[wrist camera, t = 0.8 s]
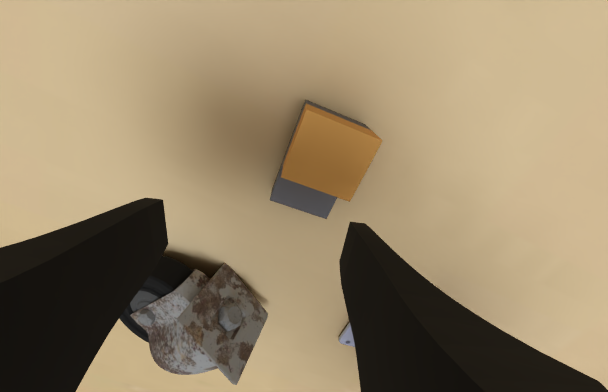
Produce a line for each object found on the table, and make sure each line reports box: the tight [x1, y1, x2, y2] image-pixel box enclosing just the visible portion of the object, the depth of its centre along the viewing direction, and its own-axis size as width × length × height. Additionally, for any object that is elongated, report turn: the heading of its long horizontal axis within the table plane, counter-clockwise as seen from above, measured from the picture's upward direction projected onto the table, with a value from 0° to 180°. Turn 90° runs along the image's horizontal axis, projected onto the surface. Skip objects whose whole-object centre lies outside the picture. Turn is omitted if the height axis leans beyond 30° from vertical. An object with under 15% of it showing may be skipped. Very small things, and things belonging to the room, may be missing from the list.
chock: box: [270, 100, 382, 219], centre depth 17 cm, size 4×7×4 cm, turn 158°
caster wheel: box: [119, 256, 268, 385], centre depth 22 cm, size 7×11×10 cm
